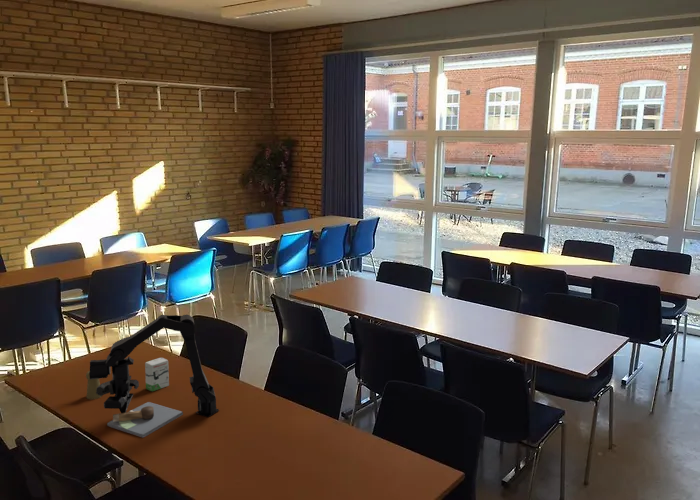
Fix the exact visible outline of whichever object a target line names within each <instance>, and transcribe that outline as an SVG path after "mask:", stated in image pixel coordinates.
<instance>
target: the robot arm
mask: <svg viewBox="0 0 700 500" xmlns="http://www.w3.org/2000/svg"><path fill="white" fill-rule="evenodd" d="M162 329H169V330H172V331H176V332H180V335H181V337H182V339H183V341H184V342H185V346H186V349H187V355H188V359H189V362H190V367H191V371H192V376H190V377H189V383H190V386H191V392H192V394H194V396H195V397H197V398H198V399H197V411H195V414H196V415H199V416H201V417H202V416H204V417H206V418H209V417H211V416H213V415H214V414H216V413H218V412H219V411H220V410H219V408H217V397H216V392H215V389H214V387H213V386H212V385H211V384H210V383H209V381H208V379H207V376H206V374H205V372H204V370H203V368H202V367H203V366H202V363H201V358H200V355H199V354H200V353H199V350H198V347H197V342H196V332H195V331H196V330H195V319H194V317H193V316H192V315H190V314H182V315H178V314H175V315H173V314H172V315H167V314H159V316H158V317H156V319H154V320H152V321H151V322H149V323H148V324H146V325H145V326H144V327H141V328H140V329H139V330H138V331H136V332H135V333H133V334H132V335H129V336H125V337H124V338H121V339H119V340H116V341H115V342H114V343H112V345H111V348H110V352H109V354H108V355H107V357H106V358H105V359H94V360H93V359H91V360H90V361H89V371H90V372H89V376H90V379H99V380H100V379H107V378H108V377H109V375H112V379H111V380H109V381H106V382H103V383H100V386H98V387H97V389H96V391H97V392H96V394H98V395H99V396H102V397H103V396H104V395H108V394H109V395H111V396H109V397H107V399H106V400H105V401H104V402H103V408H104V409H113V410H114V409H115V410H116V409H117V410H119V411H120V413H126V412H128V408H129V405H130V403H131V401H132V398H133V396H134V393H133V392H131V390H132V389H133V388H134V390H138V388H139V387H140V382H139V380H138V379H132V375H130V367H129V366H130V365H134V362H135V361H134V359H133V358H131V356H129V355H130V354H131V353H132V352H134V350H135V348H137V346H139V345H141V344H142V343H143V342H145V341H146V340H148V339H150V337H153V336H154V335H155V334H157V333H158V332H160V331H161V330H162ZM111 372H112V373H111ZM113 395H114V396H113Z"/></svg>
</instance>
